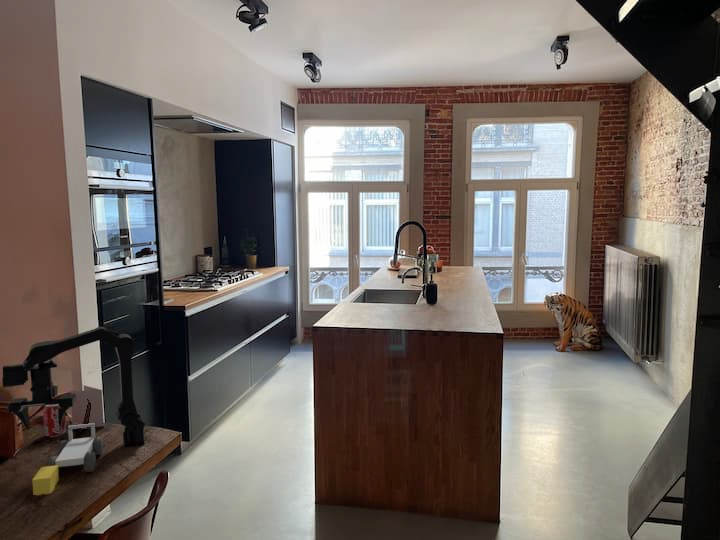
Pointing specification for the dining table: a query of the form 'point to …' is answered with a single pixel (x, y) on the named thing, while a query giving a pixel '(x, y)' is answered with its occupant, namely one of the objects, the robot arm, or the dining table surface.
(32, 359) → the robot arm
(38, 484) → the block
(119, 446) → the dining table surface
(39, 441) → the dining table surface
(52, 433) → the soda can
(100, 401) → the greeting card
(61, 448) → the trolley
